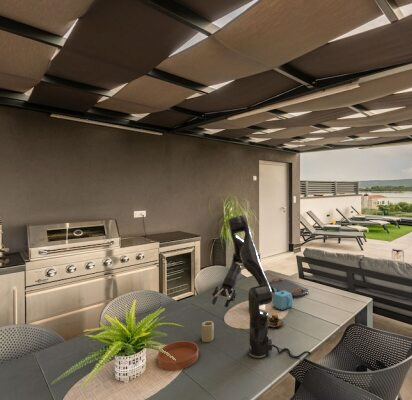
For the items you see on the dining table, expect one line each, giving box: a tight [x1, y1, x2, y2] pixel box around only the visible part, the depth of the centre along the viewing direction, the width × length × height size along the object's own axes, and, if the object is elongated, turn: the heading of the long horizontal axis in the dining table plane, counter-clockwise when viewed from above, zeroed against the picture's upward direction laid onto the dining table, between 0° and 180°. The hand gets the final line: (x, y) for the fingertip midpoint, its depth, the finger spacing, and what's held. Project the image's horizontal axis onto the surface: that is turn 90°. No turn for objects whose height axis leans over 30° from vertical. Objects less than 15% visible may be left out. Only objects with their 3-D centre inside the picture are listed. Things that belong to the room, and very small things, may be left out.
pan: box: [157, 340, 200, 371], centre depth 131 cm, size 18×18×4 cm
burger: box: [268, 311, 284, 329], centre depth 166 cm, size 12×12×8 cm
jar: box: [201, 320, 215, 343], centre depth 148 cm, size 6×6×8 cm
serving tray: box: [268, 277, 310, 297], centre depth 228 cm, size 39×23×6 cm, turn 34°
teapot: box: [271, 288, 294, 311], centre depth 194 cm, size 12×18×12 cm
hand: (219, 305), depth 158 cm, fingers open, 8 cm apart
